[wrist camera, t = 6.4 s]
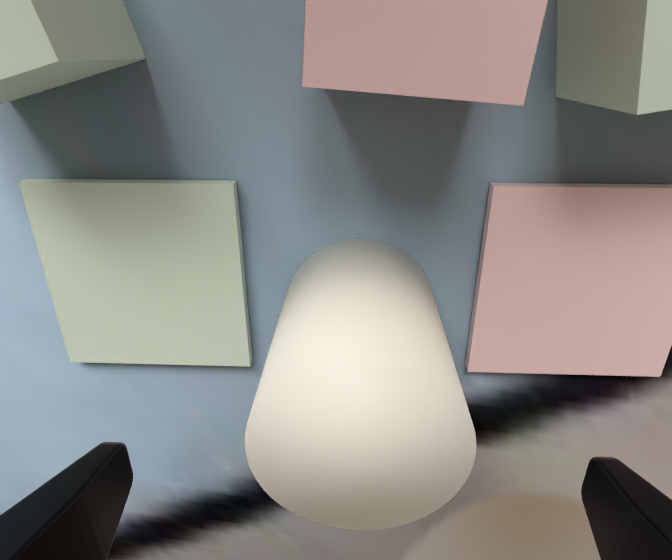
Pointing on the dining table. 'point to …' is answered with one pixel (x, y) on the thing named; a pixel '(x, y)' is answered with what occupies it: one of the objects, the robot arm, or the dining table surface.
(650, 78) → the sage cube
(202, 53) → the dining table surface
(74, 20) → the sage cube
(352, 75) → the cube rose
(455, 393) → the cream rounded cylinder
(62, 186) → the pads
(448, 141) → the dining table surface
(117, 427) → the dining table surface
